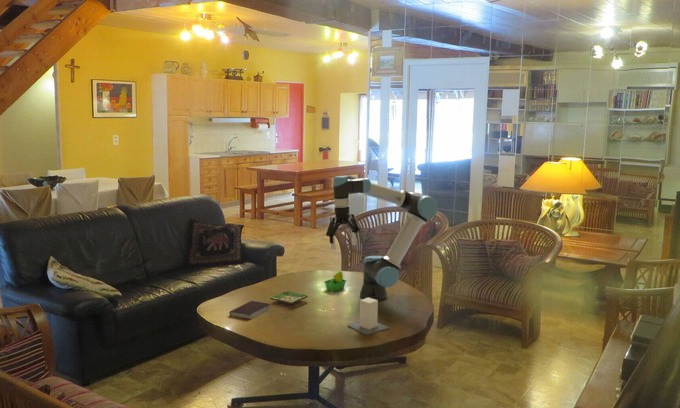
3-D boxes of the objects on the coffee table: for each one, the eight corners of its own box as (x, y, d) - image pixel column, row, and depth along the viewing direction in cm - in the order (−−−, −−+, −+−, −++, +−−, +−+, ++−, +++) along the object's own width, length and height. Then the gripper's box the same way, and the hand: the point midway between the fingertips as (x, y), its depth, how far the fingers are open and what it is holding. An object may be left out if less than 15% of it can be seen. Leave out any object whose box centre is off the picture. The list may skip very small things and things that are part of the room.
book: (229, 316, 298) (229, 310, 297) (250, 305, 315) (250, 299, 314) (250, 320, 292) (250, 314, 292) (270, 309, 310) (270, 303, 309)
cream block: (367, 323, 288) (368, 297, 285) (377, 326, 283) (377, 300, 281) (359, 326, 283) (360, 300, 281) (369, 329, 279) (369, 303, 277)
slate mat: (370, 320, 293) (370, 319, 293) (389, 328, 282) (389, 327, 282) (347, 326, 285) (347, 325, 285) (366, 335, 274) (366, 333, 274)
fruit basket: (337, 285, 350) (337, 267, 349) (348, 289, 344) (348, 270, 343) (323, 289, 342) (323, 270, 341) (334, 293, 336) (334, 274, 334)
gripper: (355, 202, 311) (357, 242, 314) (317, 208, 296) (320, 250, 299) (365, 203, 306) (366, 244, 308) (326, 210, 290) (328, 252, 293)
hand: (343, 247), depth 304 cm, fingers open, 13 cm apart
